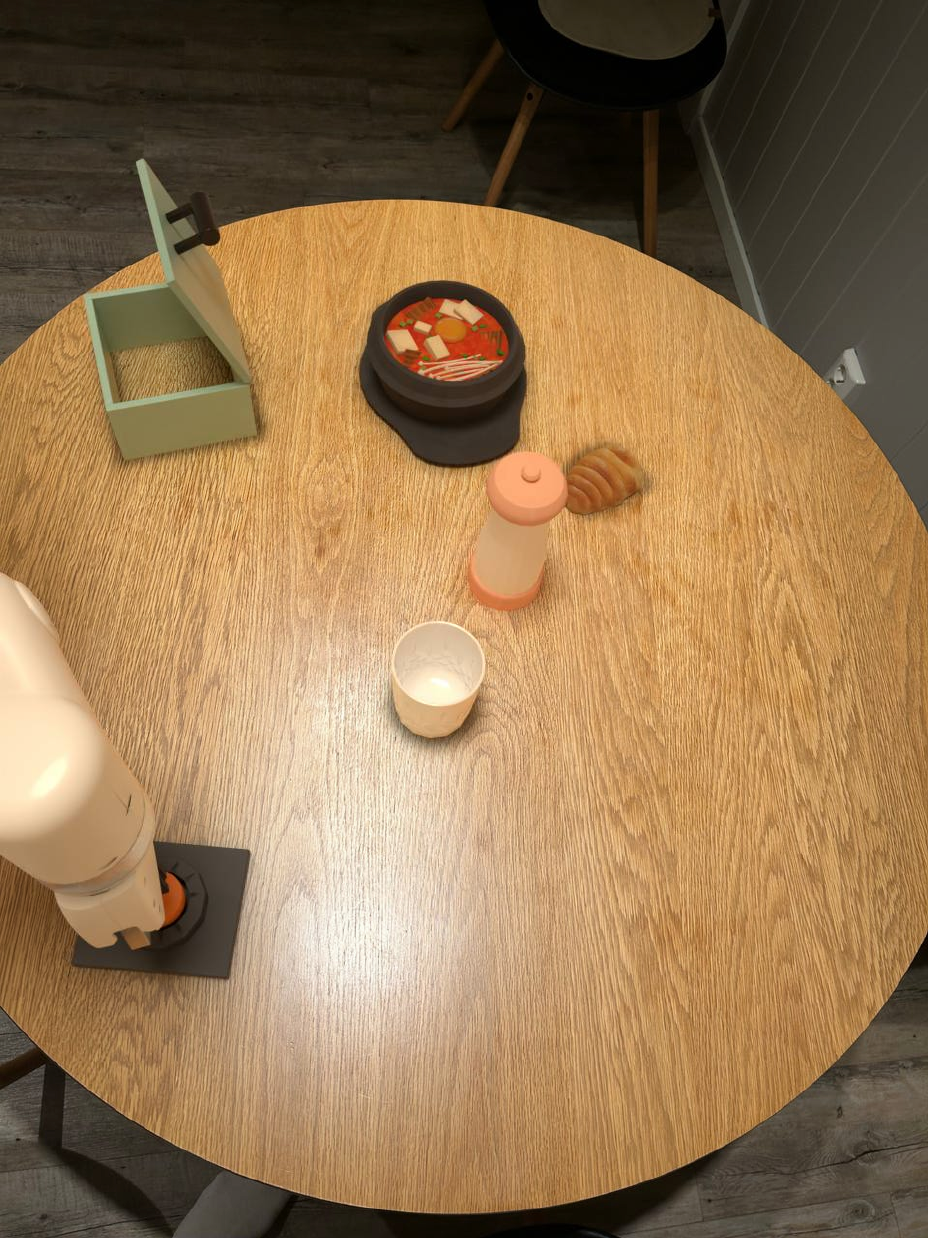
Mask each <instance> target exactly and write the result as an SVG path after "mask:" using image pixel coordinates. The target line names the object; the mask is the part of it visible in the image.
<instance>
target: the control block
mask: <svg viewBox="0 0 928 1238" xmlns="http://www.w3.org/2000/svg"><path fill="white" fill-rule="evenodd" d="M153 845H154V850H155V856H156V860H157V861H158V862H159V863H160V864H161V866H162V867H163V868H164V869H165V870H166V872H167V873H170V874H171V875H173V876H174V877H175V878H176V879H177V880H178V881H179V882H180V884H181V885H182V886H183V888H184V891H185V895H186V902H185V906H184V909H183V911H182V913H181V914H180V916H179V917H178V918H177V919H176V920H175V921H174V922H172V923H171V924H169V925H167V926H165V927H161V928H160V929H159V930H154V931H150V938H151V944H150V945H147V946H144V947H140V948H137V949H134V950H132V949H131V948H130V946H129V945H128V943H127V941H126V940H125V938H124V937H123V935H122V934H121V932H120V931H118V932H115V933H113V934H115V935H116V936H117V941H116V942H115V943H114V944H113V945H111V946H107V947H102V948H96V947H94V946H92V945H91V944H89V943H88V942H86V941H85V940H84V939H83V938H82V937H81V936H80V935H79V934H78V933H77V938H76V942H75V946H74V950H73V953H72V958H71V962H70V965H71V966H73V967H75V968H86V969H99V970H111V971H123V972H135V973H145V974H147V973H148V974H160V975H171V976H183V977H185V976H186V977H197V978H209V979H219V980H220V979H223V980H229V979H230V977H231V976H230V975H231V969H232V965H233V959H234V958H233V957H234V951H235V945H236V941H237V935H238V929H239V924H240V917H241V912H242V906H243V900H244V894H245V890H246V889H245V888H246V883H247V877H248V870H249V865H250V860H251V856H252V855H251V854H252V853H251V851H250V849H248V848H247V849H246V848H236V847H225V846H212V845H204V844H203V845H201V844H191V843H178V842H169V841H157V840H153Z"/></svg>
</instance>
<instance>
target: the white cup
mask: <svg viewBox="0 0 928 1238" xmlns="http://www.w3.org/2000/svg"><path fill="white" fill-rule="evenodd" d="M390 661H391V663H390V664H391V683H392V685H391V686H392V695H393V702H394V708H395V710H396V714H397V716H398V719H399V721H400V723H401V724H402V725H404V726H405V728H407V729H408V730H409V731H410V732H411V733H413V734H414V735H417V736H420V737H424V738H428V739H434V738H440V737H441V738H442V737H447V736H449V735H451V734H452V733H453V732H456V730H458V729H459V728H461V727H462V725H463V723H464V722H465V720H466V719H467V717H468V716H469V714H470V712H471V710H472V708H473V705H474V703H475V701H476V699H477V696H478V693H479V691H480V688H481V685H482V683H483V680H484V677H485V674H486V667H487V666H486V665H487V664H486V656H485V653H484V650H483V647H482V646H481V644H480V643H479V641H478V640H477V638H476V637H475V636H474V635H473V634H472V633H471V632H470V631H469V630H467V629H466V628H464V627H462V626H460V625H458V624H455V623H453V622H449V621H444V620H442V621H441V620H430V621H425V622H422V623H419V624H416V625H414V626H412V627H410V628H409V629H408V630H407V631H405V632H404V633H403V634H402V635H401V636H400V637H399V639H398V640H397V642H396V643H395V645H394V648H393V650H392V654H391V660H390Z"/></svg>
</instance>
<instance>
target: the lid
mask: <svg viewBox="0 0 928 1238" xmlns="http://www.w3.org/2000/svg"><path fill="white" fill-rule="evenodd" d="M135 164H136V168H137V172H138V176H139V181H140V184H141V189H142V192H143V196H144V200H145V205H146V208H147V211H148V216H149V221H150V224H151V227H152V228H151V229H152V232H153V236H154V240H155V243H156V247H157V251H158V255H159V260H160V263H161V268H162V271H163V275H164V280H165V282H166V283H167V285H168V286H169V287H170V288H171V290H172V291H173V292H174V294H175V295H176V296H177V297H178V299H179V300H180V301H181V302H182V304H183V305H184V306H185V308H186V309H187V310H188V311H189V313H190V314H191V315H192V316H193V318H194V319H195V320H196V322H197V323H198V324H199V325H200V327H201V328H202V329H203V330H204V332H205V333H206V334H207V336H206V337H208V339H210V341H211V342H212V344H214V346H215V347H216V349H217V350H218V351H219V352H220V354H221V355H222V356H223V357H224V359H225V360H226V361H227V362H228V364H229V366H230V365H231V366H232V367H233V369H234V370H235V371H236V373H237V374H238V375H239V376H240V378H241V379H242V380H243V381H244V383H248V382H252V381H253V378H252V375H251V371H250V368H249V367H250V366H249V364H248V361H247V357H246V353H245V351H244V346H243V343H242V339H241V337H240V332H239V329H238V327H237V322H236V320H235V316H234V312H233V308H232V306H231V301H230V299H229V294H228V291H227V288H226V284H225V281H224V279H223V278H224V277H223V274H222V271H221V268H220V266H219V265H218V263H217V262H216V261H215V259H214V258H213V256H212V255H211V254H210V253H209V250H208V249H207V248H206V246H207V247H214V246H216V245H217V244H219V243H220V241H221V233H220V229H219V226H218V222H217V219H216V216H215V212H214V209H213V206H212V202H211V199H210V196H209V195H208V194H207V193H206V192H204V191H200V190H199V191H195V192H193V193H192V194H190V196H189V199H188V201H189V202H187V203H185V204H183V205H180V206H177V205H176V204H175V202H174V200H173V198H172V197H171V196H170V195H169V193H168V192H167V190H166V188H164V186H163V185H162V183H161V181H160V180H159V179H158V177H157V175H156V174H155V173H154V172H153V170H152V168H151V167H150V166H149V164H148V163H147V161H146V159H144V158H141V159H138V160H136V161H135ZM190 216H192V217H193V220H194V224H195V227H196V230H197V233H196V232H195V231H194V229H193V227H192V226H191V225H190V224H189V222H188V220H187V219H186V218H187V217H190Z"/></svg>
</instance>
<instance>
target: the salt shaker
mask: <svg viewBox="0 0 928 1238" xmlns="http://www.w3.org/2000/svg"><path fill="white" fill-rule="evenodd" d="M566 478H567V477H565V474H564V472H563V470H562V469H561V468H560V467H559V466H558V465H557V464H556V462H554V461H553V459H551V458H549V457H547V456H546V455H544V454H541V453H538V452H535V451H525V450H524V451H518V452H513V453H509V454H508V455H505V456H504V457H502V458H500V459H498V460H497V462H496V463H495V464H494V466H492V468H491V469H490V471H488V474H487V477H486V480H485V494H486V496H487V499H488V502H489V504H490V506H489V512H488V517H487V518H486V520H485V523H484V524H483V526H482V528H481V530H480V532H479V534H478V537H477V540H476V546H475V549H474V550H473V552H472V555H471V557H470V561H469V564H468V569H467V583H468V586H469V588H470V591H471V593H472V594H473V596H474V597H475V598H476V599H477V601H479V603H481V604H483V605H485V606H486V607H487V608H491V609H494V610H497V611H502V612H503V611H504V612H512V611H516V610H521V609H523V608H525V607H526V606H527V605H529V604H531V603H532V602H533V600H534V599H535V598H536V597H537V596H538V593H539V590H540V587H541V583H542V581H543V577H544V574H545V573H544V571H545V570H544V564H545V561H546V558H547V555H548V533H549V532H548V530H549V527H550V524H551V522H552V521H551V520H553V519H555V518H556V517H558V515H559V514H561V512H562V511H563V509H564V508H566V507H565V504H566V501H567V498H568V490H567V480H566Z"/></svg>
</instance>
